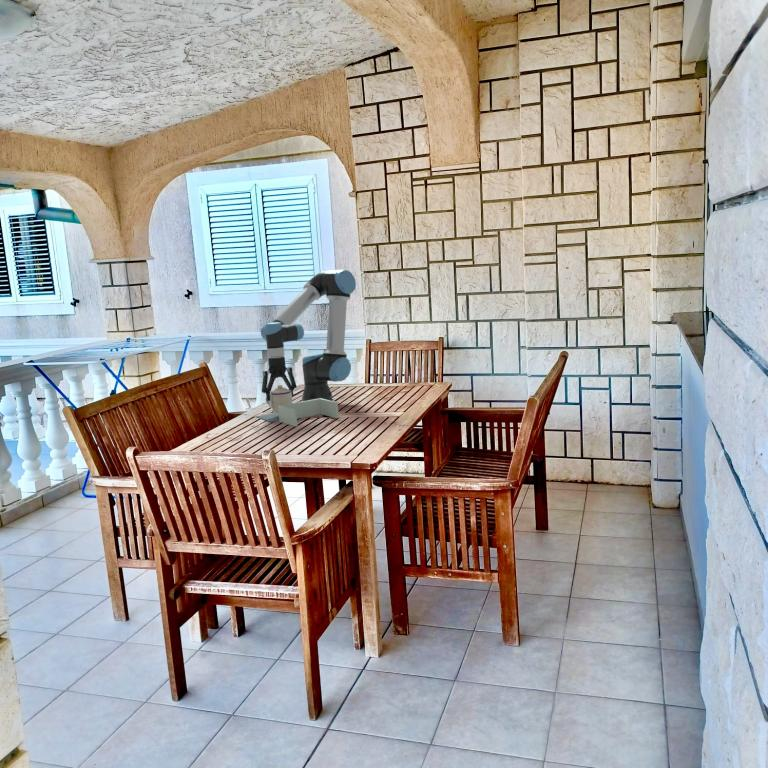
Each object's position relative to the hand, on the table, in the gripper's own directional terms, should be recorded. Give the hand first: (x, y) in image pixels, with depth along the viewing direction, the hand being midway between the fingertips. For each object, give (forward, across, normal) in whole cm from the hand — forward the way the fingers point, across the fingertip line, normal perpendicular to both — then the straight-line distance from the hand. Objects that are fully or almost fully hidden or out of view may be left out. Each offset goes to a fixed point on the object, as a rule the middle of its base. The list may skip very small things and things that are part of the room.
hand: (280, 405), depth 336 cm
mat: (+5, 0, 0) cm, 5 cm away
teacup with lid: (+2, +1, 0) cm, 2 cm away
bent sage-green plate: (+5, -5, +18) cm, 19 cm away
